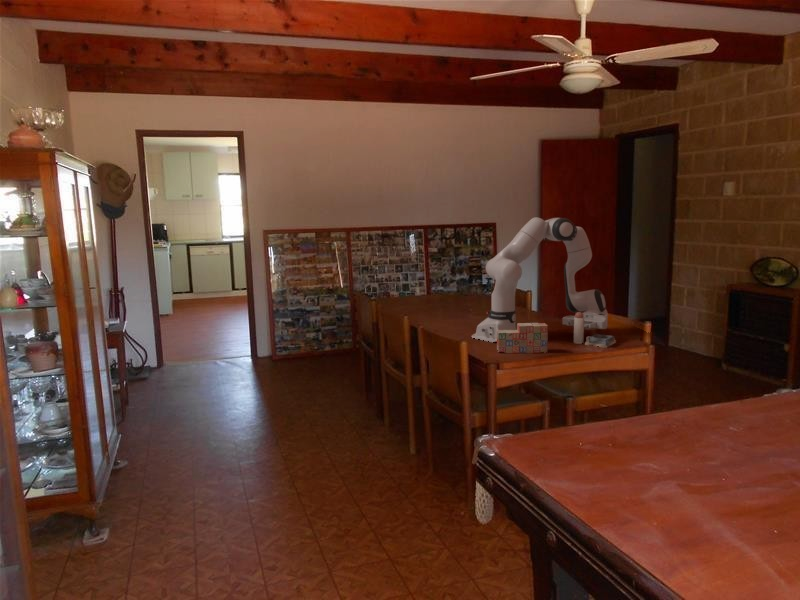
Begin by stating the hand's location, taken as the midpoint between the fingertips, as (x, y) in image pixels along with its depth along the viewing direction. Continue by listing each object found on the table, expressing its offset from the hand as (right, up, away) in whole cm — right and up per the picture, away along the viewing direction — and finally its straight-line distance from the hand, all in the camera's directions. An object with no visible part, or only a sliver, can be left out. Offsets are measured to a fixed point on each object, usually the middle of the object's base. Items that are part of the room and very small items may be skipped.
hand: (578, 325), depth 273 cm
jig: (+10, -8, -1) cm, 13 cm away
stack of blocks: (-28, -11, -11) cm, 33 cm away
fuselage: (0, -8, +1) cm, 9 cm away
